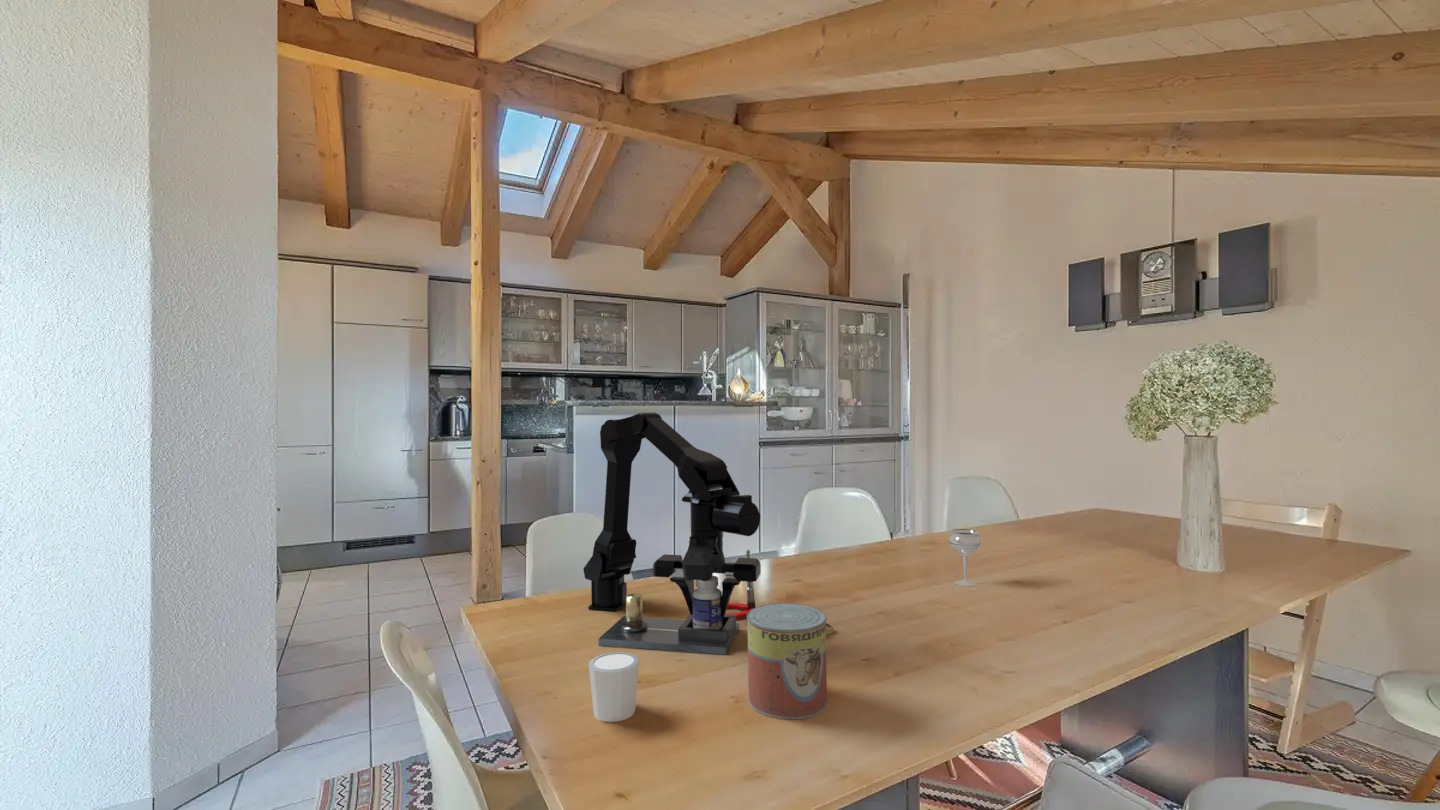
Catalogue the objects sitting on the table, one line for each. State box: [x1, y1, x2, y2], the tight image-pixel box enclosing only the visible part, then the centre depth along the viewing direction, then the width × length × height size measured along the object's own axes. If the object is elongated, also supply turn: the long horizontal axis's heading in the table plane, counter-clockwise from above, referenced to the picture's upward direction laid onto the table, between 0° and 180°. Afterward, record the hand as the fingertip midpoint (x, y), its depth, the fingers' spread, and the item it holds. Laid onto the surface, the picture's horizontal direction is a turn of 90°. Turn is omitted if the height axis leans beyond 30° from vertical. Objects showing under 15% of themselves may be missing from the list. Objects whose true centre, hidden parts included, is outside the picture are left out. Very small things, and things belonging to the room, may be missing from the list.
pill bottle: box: [693, 574, 722, 630], centre depth 112 cm, size 5×5×9 cm
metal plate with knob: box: [598, 592, 740, 656], centre depth 114 cm, size 23×12×7 cm, turn 77°
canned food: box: [746, 602, 829, 720], centre depth 89 cm, size 11×11×12 cm
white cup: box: [588, 651, 640, 723], centre depth 86 cm, size 7×7×7 cm
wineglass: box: [948, 528, 981, 587], centre depth 145 cm, size 7×7×12 cm
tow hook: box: [725, 549, 757, 620], centre depth 126 cm, size 8×13×9 cm
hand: (707, 615), depth 112 cm, fingers open, 5 cm apart
